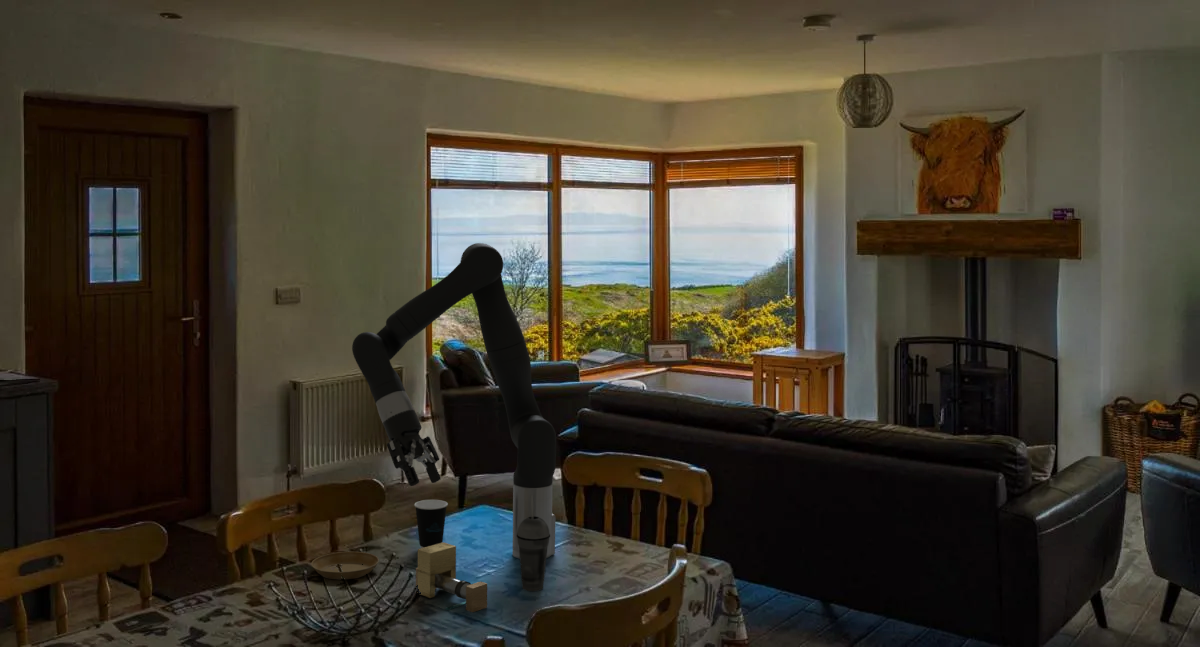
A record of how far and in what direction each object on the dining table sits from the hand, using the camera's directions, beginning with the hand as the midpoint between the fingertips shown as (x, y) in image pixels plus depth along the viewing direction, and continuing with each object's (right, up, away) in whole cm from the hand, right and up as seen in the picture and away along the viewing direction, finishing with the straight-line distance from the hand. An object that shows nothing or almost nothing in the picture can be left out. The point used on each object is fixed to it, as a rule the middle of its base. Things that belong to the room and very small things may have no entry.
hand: (426, 483), depth 236 cm
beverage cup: (+23, -23, -2) cm, 32 cm away
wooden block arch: (+3, -22, -7) cm, 24 cm away
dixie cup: (-3, -20, +25) cm, 32 cm away
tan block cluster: (+7, -23, -10) cm, 26 cm away
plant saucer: (-19, -21, +7) cm, 29 cm away
